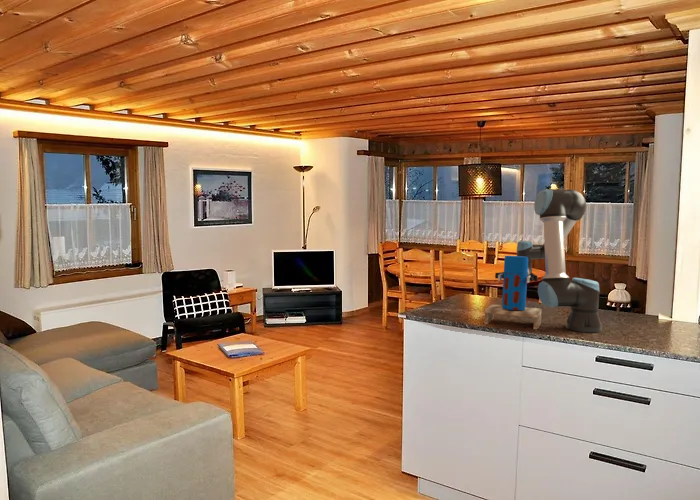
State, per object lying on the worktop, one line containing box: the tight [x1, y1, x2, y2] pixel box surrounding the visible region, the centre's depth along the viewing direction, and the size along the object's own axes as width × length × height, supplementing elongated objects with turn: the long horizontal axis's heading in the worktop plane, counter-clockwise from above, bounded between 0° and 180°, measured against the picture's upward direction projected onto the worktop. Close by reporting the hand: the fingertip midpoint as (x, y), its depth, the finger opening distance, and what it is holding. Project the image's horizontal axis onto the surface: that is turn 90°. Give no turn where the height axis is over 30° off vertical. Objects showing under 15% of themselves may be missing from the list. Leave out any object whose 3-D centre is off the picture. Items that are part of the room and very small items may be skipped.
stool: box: [484, 303, 542, 330], centre depth 266 cm, size 24×14×7 cm, turn 64°
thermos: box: [501, 255, 528, 310], centre depth 265 cm, size 11×11×25 cm
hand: (513, 279), depth 261 cm, fingers open, 12 cm apart
